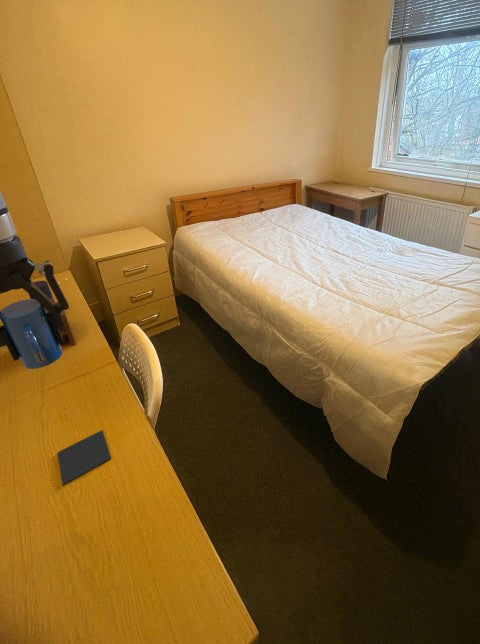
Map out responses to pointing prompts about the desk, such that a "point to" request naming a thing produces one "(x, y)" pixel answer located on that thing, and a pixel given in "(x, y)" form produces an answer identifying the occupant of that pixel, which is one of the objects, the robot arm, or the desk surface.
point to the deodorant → (44, 289)
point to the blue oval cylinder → (31, 333)
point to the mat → (83, 457)
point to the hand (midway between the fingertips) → (39, 348)
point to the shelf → (66, 327)
